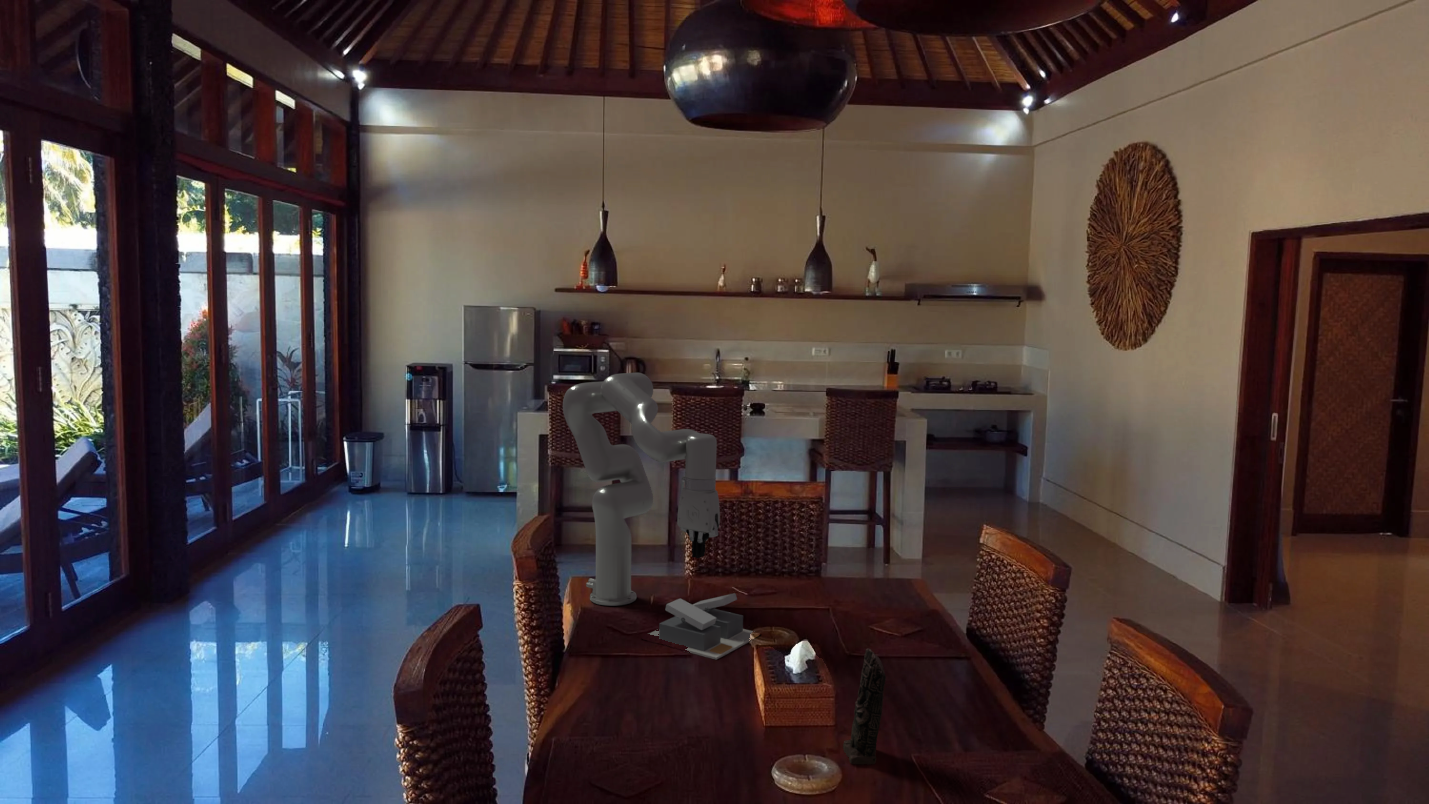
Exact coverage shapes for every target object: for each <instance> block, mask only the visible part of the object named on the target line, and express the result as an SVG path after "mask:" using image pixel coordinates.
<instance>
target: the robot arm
mask: <svg viewBox="0 0 1429 804" xmlns="http://www.w3.org/2000/svg"><path fill="white" fill-rule="evenodd" d="M652 382H653V381H652V380H651V379H650V378H649V377H648V376H647V375H646V374H644V373H641V372H627V373H614V374H611V375H610V376H608V377H606V378H605V379H604V380H603V381H591V382H582V383H578V384H574V385H573V386H571V387H570V388H568V389H567V390H566V392H565V394H564V396H563V401H562V412H563V416H564V419H565V422H566V424H567V426H568V428H569V430H570V431H571V433H572V436H573V438H574V440H575V443H576V446H577V448H578V452H579V453H580V458H581V460H582V463H583V466H584V469H585V471H586V474H587V476H588V478H589V479H590V480H591V481H593V482H595V483H605V482H611V481H618V480H619V481H620V482H617V483H611V484H607V485H604V486H602V487H599V488H597V490H596V491H595V492H594V494H593V495H592V499H591V504H592V505H591V507H592V511H593V516H594V523H595V524H594V525H595V578H591V577H590V578H589V579H588V582H586V583H585V586H586V587H587V588H590V589H592V592H591V593H590V595H589V600H590V601H591V602H592V603H593V604H597V605H600V606H606V607H607V606H611V607H612V606H613V607H615V606H616V607H618V606H625V605H628V604H631V603H633V602H635V601H636V600H637V593H636V592H635V591H633V590H632V534H631V530H630V527H629V526H628V524H627V522H626V519H628V518H631V517H637V516H640V515H643V514H646V513H648V512H649V511H650V510H651V508H652V506H653V504H654V503H653V502H654V496H653V490H652V487H651V485H650V481H649V479H648V476H647V472H646V470H645V467H644V464H643V462H642V460H641V457H640V456H639V453H638V451H637V450H636V449H634V447H633V446H631V445H629V444H625V443H624V444H623V443H622V444H621V443H620V444H614V445H613V444H611V442H610V440H609V438H608V434H607V431H606V430H605V428H604V426H603V425H602V424H601V422H599V420H597V419H596V418H595V417H594V416H593V414H598V413H599V414H601V413H609V412H618V413H619V414H620V415H621V416H622V417H624V419H626V420H627V421H628V423H630V425H631V432H632V438H633V439H634V442H635V444H636V445H637V447H638V448H639V449H640V450H641V451H643V453H644V454H646V455H647V456H648V457H649V458H650V459H652V460H653V461H656V462H658V463H668V462H673V461H681V460H685V471H684V476H682V478H681V482H682V483H684V487H682V488H681V491H680V495H679V502H678V507H677V526H678V527H679V529H680V531H682V532H684V533H686V534H687V536H688V537H689V541H690V542H691V557H692V558H696V559H700V558H703V557H704V556H705V554H706V542H707V541H708V540H709V538H715V537H718V536H719V528H720V522H721V521H720V520H721V517H720V516H721V513H720V511H721V510H720V500H719V494H718V493H719V492H718V490H716V486H717V485H716V483H717V482H716V480H717V477H716V476H717V471H716V470H717V449H718V448H717V447H718V445H717V444H718V443H717V442H718V441H717V438H716V437H715V436H714V435H713V434H710V433H700V432H698V431H696V430H694V429H689V428H683V429H682V428H681V429H673V430H666V431H660V430H659V429H658V428H656V427H655V426H654V425H653V424H652V422H654V420H655V418H656V417H657V414H658V411H659V406H658V403H657V401H656V400H655V399H653V398H652V397H653V395H654V385H653V383H652Z"/></svg>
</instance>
